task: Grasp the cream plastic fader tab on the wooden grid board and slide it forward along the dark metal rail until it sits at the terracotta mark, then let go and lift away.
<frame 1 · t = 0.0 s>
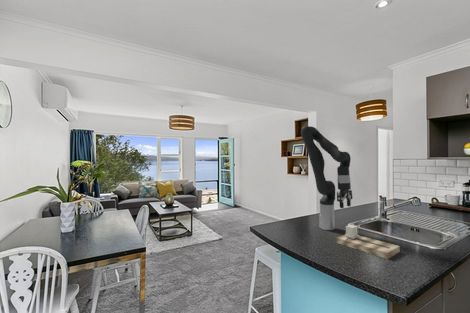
hand: (345, 207, 144), 17 cm above the countertop, fingers open, 8 cm apart
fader: (351, 231, 128), point 6 cm above the countertop, slide at 0.0 cm
wooden grid board: (366, 247, 121), on the countertop
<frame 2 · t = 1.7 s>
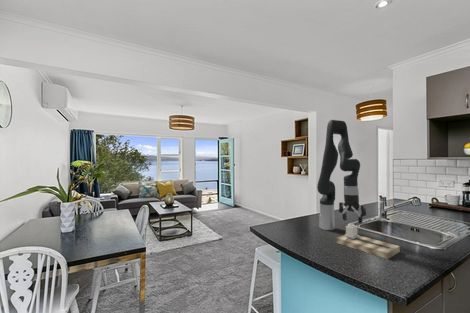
hand: (352, 221, 127), 12 cm above the countertop, fingers open, 8 cm apart
nothing on the countertop moved.
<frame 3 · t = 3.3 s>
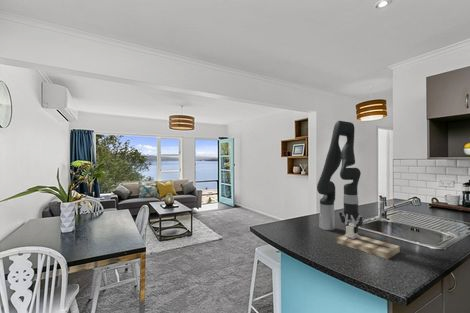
hand: (351, 231, 128), 6 cm above the countertop, fingers closed on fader, 4 cm apart
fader: (351, 231, 128), point 7 cm above the countertop, slide at 0.0 cm, touching gripper
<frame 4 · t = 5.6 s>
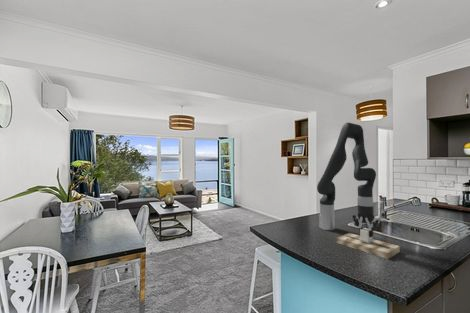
hand: (366, 235, 121), 6 cm above the countertop, fingers closed on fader, 4 cm apart
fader: (366, 235, 121), point 7 cm above the countertop, slide at 8.0 cm, touching gripper
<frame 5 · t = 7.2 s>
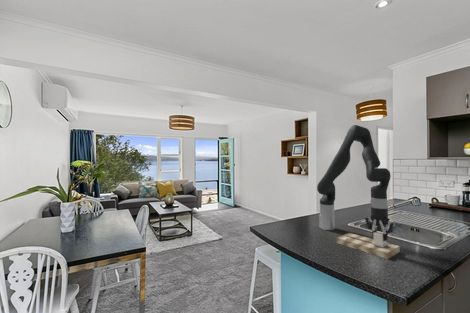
hand: (380, 239, 115), 6 cm above the countertop, fingers closed on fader, 4 cm apart
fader: (379, 238, 115), point 6 cm above the countertop, slide at 14.8 cm, touching gripper
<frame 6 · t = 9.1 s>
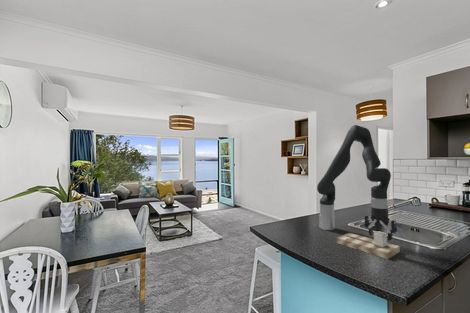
hand: (380, 237, 115), 7 cm above the countertop, fingers open, 8 cm apart
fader: (380, 238, 115), point 6 cm above the countertop, slide at 14.9 cm
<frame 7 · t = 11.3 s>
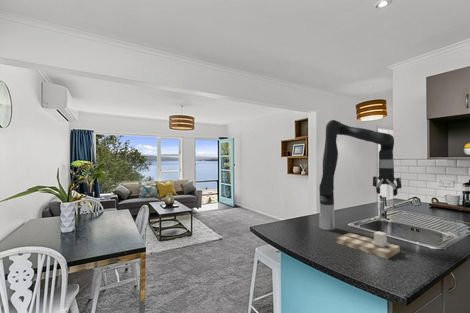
hand: (386, 194, 131), 27 cm above the countertop, fingers open, 8 cm apart
nothing on the countertop moved.
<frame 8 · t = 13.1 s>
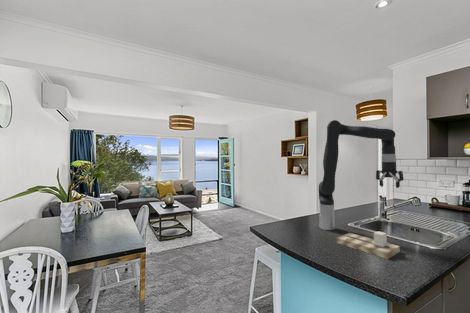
hand: (389, 187, 139), 30 cm above the countertop, fingers open, 8 cm apart
nothing on the countertop moved.
at the end: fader slide at 14.9 cm; the gripper is holding nothing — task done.
